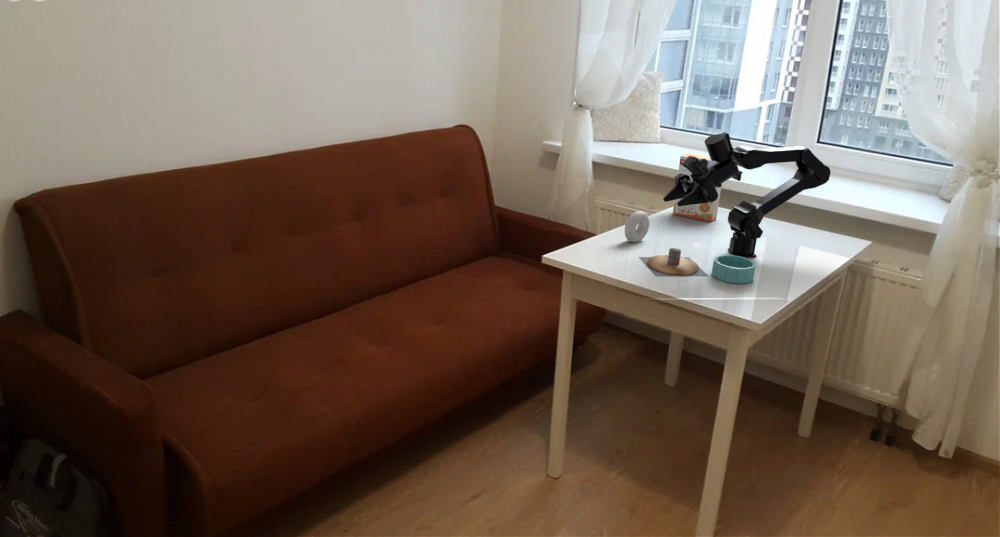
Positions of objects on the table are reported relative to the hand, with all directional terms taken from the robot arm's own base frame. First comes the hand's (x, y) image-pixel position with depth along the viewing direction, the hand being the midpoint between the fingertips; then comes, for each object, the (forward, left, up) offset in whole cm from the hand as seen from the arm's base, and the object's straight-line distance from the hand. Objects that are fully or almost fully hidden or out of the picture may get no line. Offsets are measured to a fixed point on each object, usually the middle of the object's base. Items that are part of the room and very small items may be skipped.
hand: (670, 202), depth 213 cm
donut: (+4, -14, -17) cm, 22 cm away
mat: (0, +8, -17) cm, 19 cm away
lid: (0, +8, -16) cm, 18 cm away
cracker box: (-26, -42, -17) cm, 52 cm away
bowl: (-14, +16, -17) cm, 27 cm away
